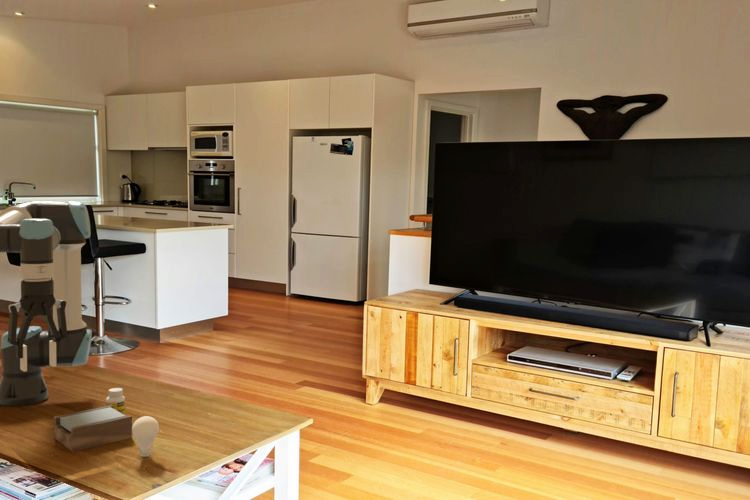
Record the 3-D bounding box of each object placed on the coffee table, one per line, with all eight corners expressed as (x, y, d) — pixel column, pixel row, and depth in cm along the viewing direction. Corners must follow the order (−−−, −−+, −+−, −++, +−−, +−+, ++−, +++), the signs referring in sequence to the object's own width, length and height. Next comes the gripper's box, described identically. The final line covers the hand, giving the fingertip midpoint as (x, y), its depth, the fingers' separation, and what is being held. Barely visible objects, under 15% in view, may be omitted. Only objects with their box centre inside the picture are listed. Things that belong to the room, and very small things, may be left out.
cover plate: (60, 424, 185) (60, 417, 185) (110, 413, 195) (110, 407, 195) (74, 434, 179) (74, 427, 178) (125, 422, 188) (125, 415, 188)
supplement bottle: (118, 425, 200) (118, 392, 200) (101, 423, 201) (101, 391, 201) (128, 419, 206) (128, 387, 205) (112, 417, 207) (112, 386, 206)
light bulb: (135, 453, 180) (135, 412, 179) (161, 453, 181) (161, 412, 180) (128, 463, 173) (128, 421, 173) (155, 462, 174) (155, 421, 173)
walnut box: (54, 441, 186) (54, 416, 186) (111, 428, 198) (111, 405, 197) (73, 455, 177) (72, 429, 177) (132, 441, 188) (131, 416, 188)
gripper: (0, 283, 164) (2, 377, 166) (81, 278, 178) (82, 364, 180) (-10, 280, 169) (-8, 371, 171) (70, 275, 183) (71, 359, 185)
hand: (38, 367), depth 176 cm, fingers open, 6 cm apart
